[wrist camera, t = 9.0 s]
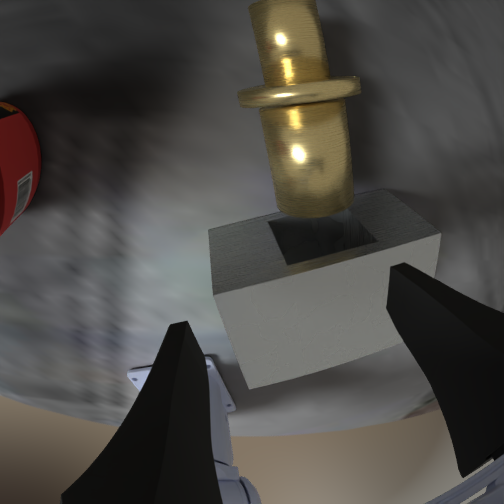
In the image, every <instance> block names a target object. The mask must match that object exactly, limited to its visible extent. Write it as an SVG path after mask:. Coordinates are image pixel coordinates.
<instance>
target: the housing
mask: <svg viewBox="0 0 504 504" xmlns="http://www.w3.org/2000/svg"><path fill="white" fill-rule="evenodd" d="M208 234H209V249H210V263H211V276H212V289H213V297H214V299H215V302H216V305H217V308H218V310H219V313H220V316H221V318H222V321H223V324H224V327H225V329H226V332H227V334H228V337H229V340H230V342H231V345H232V348H233V350H234V353H235V355H236V358H237V360H238V363H239V366H240V368H241V371H242V373H243V376H244V378H245V381H246V383H247V386H248V388H249V389H253V388H258V387H262V386H266V385H270V384H274V383H278V382H282V381H286V380H290V379H293V378H297V377H301V376H304V375H308V374H311V373H315V372H318V371H321V370H325V369H328V368H331V367H334V366H337V365H340V364H344V363H347V362H350V361H353V360H355V359H358V358H361V357H364V356H367V355H370V354H373V353H375V352H378V351H381V350H383V349H386V348H389V347H391V346H394V345H396V344H399V343H401V342H404V341H403V339H402V338H401V336H400V335H399V333H398V332H397V330H396V328H395V326H394V324H393V322H392V320H391V318H390V316H389V314H388V311H387V309H386V304H387V295H388V286H389V275H390V266H394V265H397V264H400V263H403V262H405V263H407V264H409V265H411V266H413V267H415V268H417V269H419V270H420V271H422V272H424V273H426V274H427V275H429V276H431V277H433V278H434V276H435V271H436V265H437V260H438V254H439V247H440V240H441V232H440V231H439V230H437V229H436V228H435V227H434V226H433V225H431V224H430V223H429V222H428V221H426V220H425V219H424V218H423V217H421V216H420V215H419V214H417V213H416V212H415V211H414V210H412V209H411V208H410V207H408V206H407V205H406V204H404V203H403V202H402V201H400V200H399V199H398V198H396V197H395V196H394V195H392V194H391V193H390V192H388V191H387V190H385V189H380V190H376V191H371V192H366V193H362V194H357V195H354V202H353V203H352V205H351V206H350V207H349V208H347V209H346V210H344V211H342V212H340V213H337V214H334V215H330V216H326V217H319V218H299V217H293V216H289V215H287V214H284V213H283V212H279V213H274V214H270V215H266V216H262V217H258V218H254V219H250V220H246V221H242V222H238V223H234V224H230V225H226V226H222V227H218V228H214V229H210V230H208Z"/></svg>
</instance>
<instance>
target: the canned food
mask: <svg viewBox="0 0 504 504" xmlns="http://www.w3.org/2000/svg"><path fill="white" fill-rule="evenodd" d="M40 173H41V151H40V144H39V141H38V138H37V134H36V132H35V130H34V127H33V125H32V123H31V122H30V120H29V119H28V118H27V116H26V115H25V114H24V113H23V112H22V111H21V110H20V109H18V108H16V107H15V106H13V105H11V104H8V103H4V102H0V236H1V235H2V234H3V233H4V231H5V230H6V229H7V228H8V227H9V226H10V225H11V224H12V223H13V222H14V221H15V220H16V219H17V218H18V217H19V216H20V215H21V214H22V213H23V212H24V211H25V209H26V208H27V207H28V206H29V204H30V202H31V200H32V198H33V196H34V194H35V191H36V189H37V186H38V183H39V179H40Z"/></svg>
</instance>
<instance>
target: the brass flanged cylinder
mask: <svg viewBox="0 0 504 504" xmlns="http://www.w3.org/2000/svg"><path fill="white" fill-rule="evenodd" d="M248 9H249V13H250V18H251V22H252V26H253V31H254V35H255V40H256V44H257V49H258V53H259V58H260V62H261V67H262V72H263V77H264V82H265V85H260V86H255V87H251V88H247V89H243V90H240V91H238V92H237V94H238V98H239V103H240V107H242V108H257V107H262V108H260V109H259V112H260V117H261V122H262V127H263V132H264V137H265V143H266V148H267V153H268V158H269V163H270V169H271V174H272V180H273V185H274V190H275V196H276V202H277V207H278V209H279V210H280V211H281V212H283V213H284V214H287V215H289V216H293V217H299V218H319V217H326V216H330V215H334V214H337V213H340V212H342V211H344V210H346V209H347V208H349V207H350V206H351V205H352V203H353V202H354V187H353V173H352V160H351V149H350V138H349V129H348V120H347V112H346V104H345V99H343V97H349V96H354V95H357V94H360V93H361V85H360V78H359V77H356V76H332V77H330V71H329V65H328V59H327V54H326V48H325V43H324V38H323V33H322V28H321V23H320V19H319V14H318V10H317V6H316V1H315V0H261V1H258V2H255V3H253V4H251V5H250V6H249V7H248Z"/></svg>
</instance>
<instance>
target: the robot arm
mask: <svg viewBox="0 0 504 504" xmlns="http://www.w3.org/2000/svg"><path fill="white" fill-rule="evenodd" d="M386 309H387V311H388V314H389V316H390V318H391V320H392V322H393V324H394V326H395V328H396V330H397V332H398V333H399V335H400V336H401V338H402V339H403V341H404V343H405V344H406V346H407V347H408V349H409V350H410V352H411V353H412V355H413V356H414V358H415V360H416V361H417V363H418V364H419V366H420V367H421V369H422V371H423V372H424V374H425V376H426V377H427V379H428V381H429V383H430V385H431V387H432V389H433V391H434V394H435V396H436V398H437V400H438V403H439V405H440V408H441V410H442V413H443V416H444V418H445V421H446V424H447V427H448V430H449V433H450V436H451V439H452V443H453V447H454V451H455V455H456V459H457V464H458V469H459V472H460V474H461V476H462V477H463V478H464V477H466V476H467V475H469V474H470V473H472V472H473V471H475V470H477V469H478V468H480V467H481V466H483V465H484V464H485V463H487V462H488V461H490V460H491V459H494V462H492V463H491V464H490V465H488V466H487V467H485V468H484V469H482V470H481V471H479V472H478V473H476V474H475V475H474V476H472V477H470V478H469V479H467V480H466V481H464V482H462V483H461V484H459V485H458V486H456V487H454V488H452V489H451V490H449V491H447V492H445V493H444V494H442V495H440V496H438V497H436V498H435V499H433V500H431V501H429V502H427V503H425V504H460V503H461V502H463V501H465V500H466V499H468V498H469V497H471V496H472V495H474V494H475V493H477V492H478V491H480V490H481V489H483V488H484V487H486V486H487V485H488V486H487V488H486V492H485V493H484V494H482V495H481V496H479V497H477V498H476V499H474V500H472V501H470V502H469V503H467V504H504V313H502V312H500V311H497V310H495V309H493V308H490V307H488V306H486V305H484V304H481V303H479V302H477V301H475V300H473V299H471V298H469V297H467V296H465V295H463V294H462V293H460V292H458V291H456V290H454V289H452V288H450V287H449V286H447V285H445V284H443V283H442V282H440V281H438V280H436V279H434V278H433V277H431V276H429V275H427V274H426V273H424V272H422V271H420V270H419V269H417V268H415V267H413V266H411V265H409V264H407V263H405V262H403V263H400V264H397V265H394V266H390V275H389V286H388V295H387V304H386ZM127 376H128V378H129V379H130V380H131V381H132V383H133V384H134V385H135V386H136V387H137V389H138V390H139V391H140V393H139V395H138V396H137V398H136V400H135V402H134V404H133V406H132V408H131V409H130V411H129V413H128V414H127V416H126V418H125V419H124V421H123V423H122V424H121V426H120V427H119V429H118V430H117V432H116V433H115V435H114V436H113V437H112V439H111V440H110V442H109V443H108V444H107V446H106V447H105V448H104V450H103V451H102V452H101V453H100V455H99V456H98V457H97V458H96V459H95V461H94V462H93V463H92V464H91V466H90V467H89V468H88V469H87V470H86V471H85V472H84V473H83V474H82V475H81V476H80V477H79V478H78V479H77V480H76V481H75V482H74V483H73V484H72V485H71V486H70V487H69V488H68V489H67V490H66V491H65V492H64V493H62V494H61V501H60V504H261V500H260V496H259V494H258V492H257V490H256V488H255V487H254V486H253V485H252V484H251V482H250V481H249V480H248V479H247V478H245V477H242V476H241V477H239V472H238V467H235V466H232V464H233V451H232V445H231V437H230V430H229V422H228V415H227V413H228V412H233V411H235V410H236V406H235V404H234V402H233V400H232V398H231V396H230V394H229V392H228V390H227V388H226V386H225V384H224V382H223V380H222V378H221V376H220V374H219V372H218V370H217V368H216V366H215V364H214V362H213V360H212V358H210V357H205V356H204V354H203V352H202V350H201V348H200V346H199V344H198V342H197V340H196V338H195V336H194V334H193V332H192V329H191V327H190V325H189V323H188V321H184V322H179V323H174V324H170V326H169V327H168V330H167V332H166V335H165V337H164V340H163V342H162V345H161V347H160V349H159V352H158V354H157V356H156V359H155V361H154V363H153V365H152V367H147V368H140V369H134V370H129V371H128V373H127Z"/></svg>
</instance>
